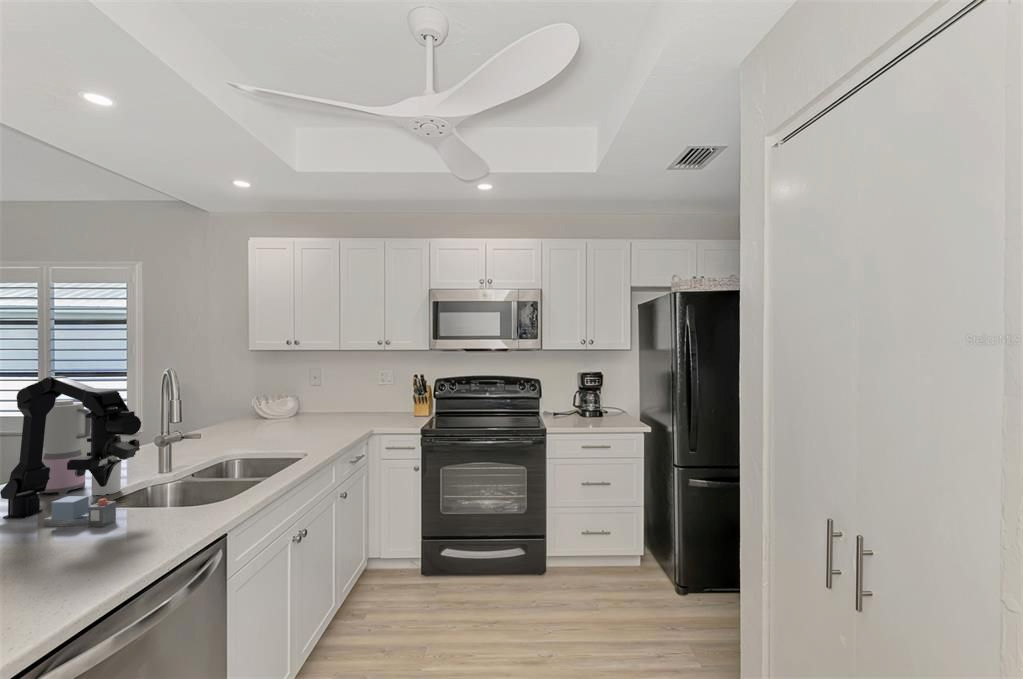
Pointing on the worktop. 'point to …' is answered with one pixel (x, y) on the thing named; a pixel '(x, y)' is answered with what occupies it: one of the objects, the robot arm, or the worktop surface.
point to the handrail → (67, 522)
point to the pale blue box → (70, 507)
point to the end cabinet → (101, 514)
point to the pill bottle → (112, 484)
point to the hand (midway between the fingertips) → (103, 486)
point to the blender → (65, 445)
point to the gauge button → (102, 501)
